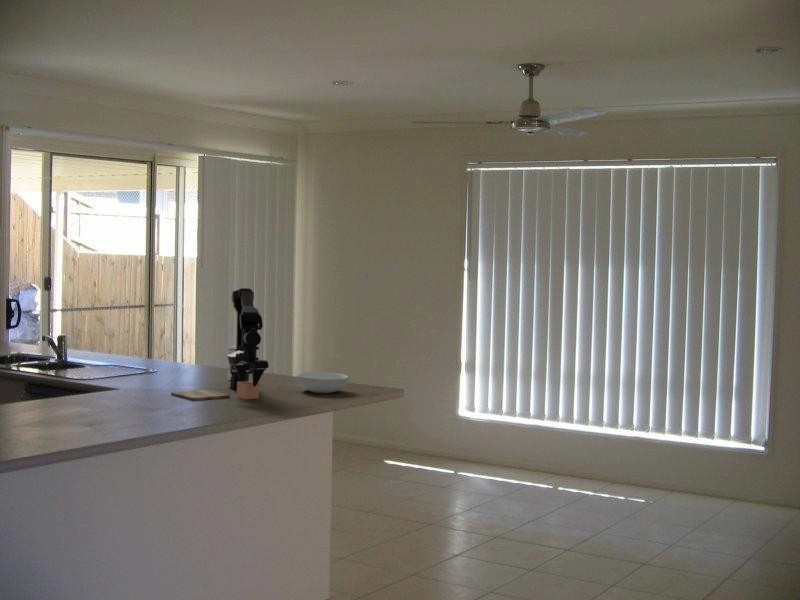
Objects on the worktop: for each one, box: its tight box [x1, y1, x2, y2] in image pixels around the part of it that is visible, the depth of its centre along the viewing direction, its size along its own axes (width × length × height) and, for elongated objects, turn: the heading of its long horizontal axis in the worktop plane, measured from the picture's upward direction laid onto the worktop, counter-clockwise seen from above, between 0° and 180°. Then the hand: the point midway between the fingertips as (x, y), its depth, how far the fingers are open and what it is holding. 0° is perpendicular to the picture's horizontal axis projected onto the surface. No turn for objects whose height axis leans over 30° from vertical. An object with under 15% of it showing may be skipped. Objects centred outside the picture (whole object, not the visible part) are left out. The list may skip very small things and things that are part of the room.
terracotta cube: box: [236, 380, 260, 400], centre depth 358 cm, size 6×6×6 cm
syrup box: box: [227, 345, 236, 381], centre depth 405 cm, size 6×6×14 cm
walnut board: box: [170, 389, 231, 402], centre depth 357 cm, size 16×16×1 cm
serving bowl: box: [296, 371, 349, 394], centre depth 381 cm, size 21×21×7 cm
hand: (247, 384), depth 358 cm, fingers open, 9 cm apart
